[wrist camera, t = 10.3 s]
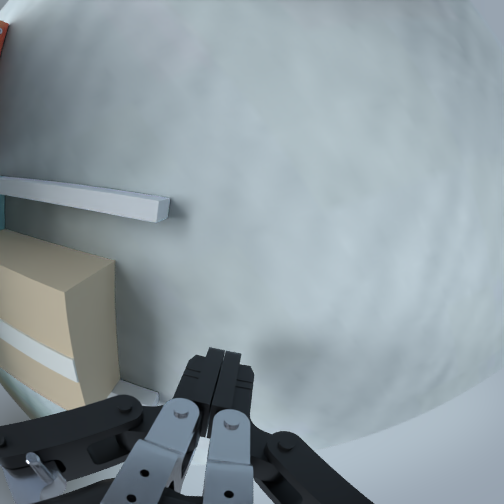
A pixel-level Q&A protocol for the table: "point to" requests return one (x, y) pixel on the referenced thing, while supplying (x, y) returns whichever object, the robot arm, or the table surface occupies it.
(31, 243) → the kraft carton
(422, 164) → the table surface
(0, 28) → the cracker box
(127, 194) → the display stand
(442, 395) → the table surface
